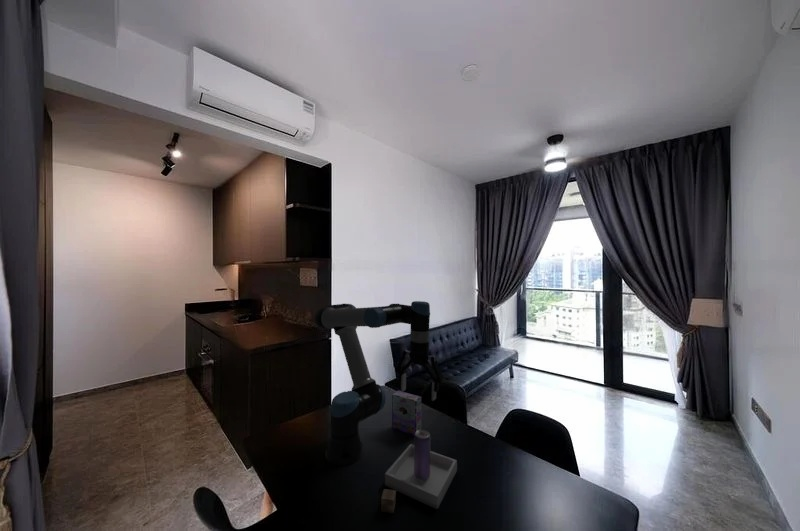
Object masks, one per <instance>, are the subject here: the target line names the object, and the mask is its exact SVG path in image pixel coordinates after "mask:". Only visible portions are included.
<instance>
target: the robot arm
mask: <svg viewBox="0 0 800 531" xmlns="http://www.w3.org/2000/svg"><path fill="white" fill-rule="evenodd" d="M313 317H314V318H313V320H314V324H315V325H316V326H317V328H319V329H321V330H333V331H334V334H335V335H337V336H338V337H339V339H340V340H339V341H340V343H341V347H342V350H343V354H344V358H345V360H346V363H347V368H348V371H349V374H350V377H351V382H352V387H351V390H347V391H342V392H339V393H338V394H336V395H335V396H334V397H333V398H332V400H331V404H330V410H329V412H330V431H329V434H330V435H329V439H328V442H327V445H326V447H325V459H326V461H327V462H328V463H330V464H332V465H335V466H346V465H351V464H353V463H355V462H357V461H358V460H359V459H360V458H361V456H362V455H363V443H362V441H361V438H360V437H361V436H360V433H359V425H360V424H359V423H361V422H363V421H365V420H366V419H369V418H370V417H372V416H374V415H377V414H378V413H379V412H381V411H382V410H383V409H384V407H385V405H386V398H387V396H386V392H385V389H384V388H383V387H382V386H381V385H380V384H379V383H378V384H377V382H376V379H375V378H372V377H371V373H370V371H369V368H368V365H367V361H366V358H365V355H364V352H363V349H362V345H361V343H360V339H359V336H358V333H357V328H358V327H368V328H370V329H376V328H377V329H378V328H380V327H386V326H390V325H396V324H408V325H410V334H409V335H410V336H409V337H410V338H409V339H410V342H409V349H404V350H403V351H402V355H401V358H400V360H399V362H398V363H397V364H398V365H397V366H396V368H395V372H396V373H398V374H399V382H400V391H401V392H405V391H406V389H407V373H406V371H407V370H408V369H409V368H410V367H411V366H412V365H413V364H414V365H418V366H421V367H423V368H424V369H425V370H426V372H427V373H428V375H429V377H430V378H431V380H432V383H431V401H432V402H434V401H435V400H436V399H437V392H438V391H439V389H440V388H439V386H440V384H442V382H444V380H445V379H444V376H443V374H442V372H441V369H440V365H439V363H438V362H437V355H436V354H433V355H430V354H429V350H430V342H429V341H430V322H431V320H430V317H431V309H430V303H429V302H428V301H421V300H416V301H415V300H414V301H412V302H411V305H407V304H402V303H389V305H384V306H372V307H369V306H367V307H356V306H355V305H353V304H352V303H337V304H329V305H324V306H323V305H322V306H321V307H320V308H318V309H317V310H316V312H315V313H314V316H313ZM408 357H410V359H409V361H408V362H407V363H406V364H405V362H406V361H407V358H408ZM404 364H405V365H404ZM403 366H404V367H403Z"/></svg>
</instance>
